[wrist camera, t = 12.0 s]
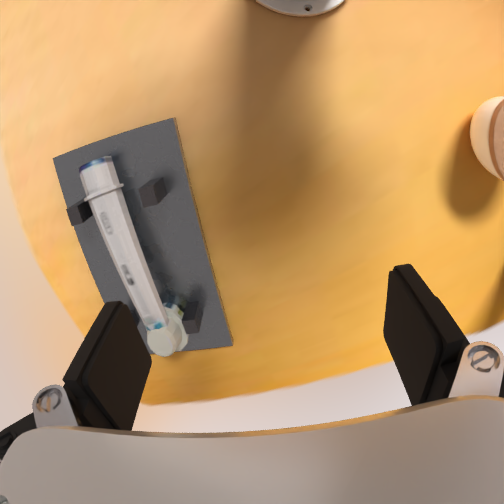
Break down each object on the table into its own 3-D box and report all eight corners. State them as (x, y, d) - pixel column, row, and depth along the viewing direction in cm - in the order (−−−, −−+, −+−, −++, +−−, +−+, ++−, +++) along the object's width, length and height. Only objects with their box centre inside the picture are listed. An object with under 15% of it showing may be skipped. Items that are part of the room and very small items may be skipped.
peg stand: (57, 156, 33) (34, 165, 29) (175, 117, 32) (163, 119, 28) (131, 350, 46) (122, 373, 41) (233, 340, 45) (231, 365, 40)
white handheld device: (104, 154, 29) (187, 366, 36) (130, 152, 35) (198, 337, 42) (66, 173, 29) (149, 372, 36) (95, 168, 36) (163, 344, 43)
